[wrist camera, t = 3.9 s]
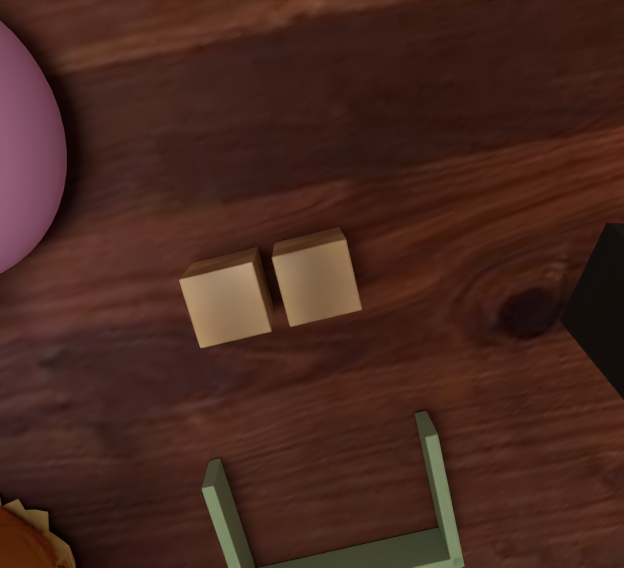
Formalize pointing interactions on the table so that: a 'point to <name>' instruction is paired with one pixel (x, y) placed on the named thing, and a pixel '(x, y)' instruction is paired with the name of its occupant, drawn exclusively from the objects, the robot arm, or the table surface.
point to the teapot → (27, 152)
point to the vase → (30, 540)
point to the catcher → (363, 558)
